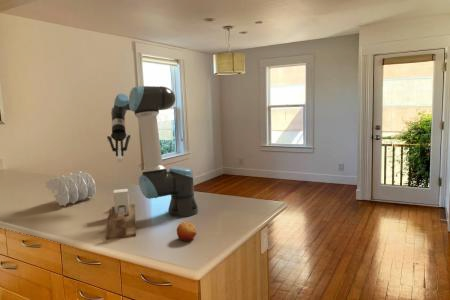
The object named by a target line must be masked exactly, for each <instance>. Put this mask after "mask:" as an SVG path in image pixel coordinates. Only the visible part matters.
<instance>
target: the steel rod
mask: <svg viewBox="0 0 450 300" xmlns="http://www.w3.org/2000/svg"><path fill="white" fill-rule="evenodd" d="M124 216H125V205H121V206H119V212H118V216H117V219H118V218H124Z"/></svg>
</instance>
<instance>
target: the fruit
mask: <svg viewBox="0 0 450 300" xmlns="http://www.w3.org/2000/svg"><path fill="white" fill-rule="evenodd" d="M176 235H177V237H178V239H177V241H179V240H181V241H183V242H189V241H192V240H193V238H195V237H196V235H197V229H196V227H195V225H194V224H193V223H190V222H189V221H188V222H187V221H183V222H181V223H180V224H178V226H177V228H176Z"/></svg>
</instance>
